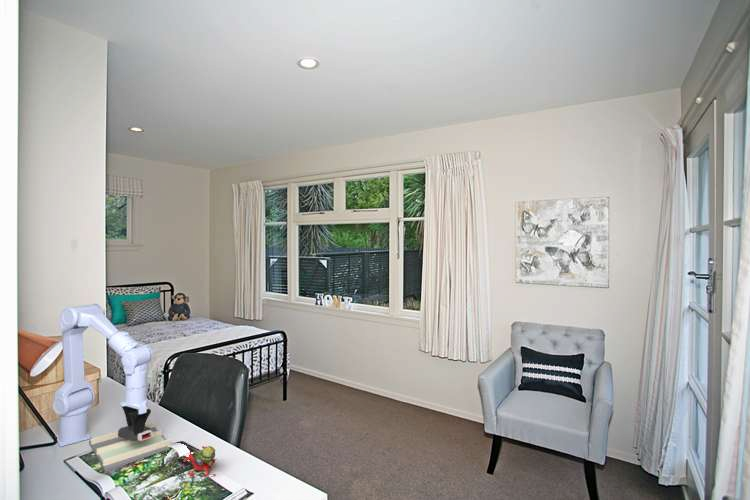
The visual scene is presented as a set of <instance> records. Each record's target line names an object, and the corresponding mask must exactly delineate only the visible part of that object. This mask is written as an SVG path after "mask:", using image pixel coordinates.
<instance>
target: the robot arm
mask: <svg viewBox="0 0 750 500" xmlns="http://www.w3.org/2000/svg"><path fill="white" fill-rule="evenodd" d="M59 324H60V328H59V329H60V332H61V341H62V343H61V344H62V364H63V365H62V367H63V384H62V385H61V386H60V387H59V388H58V389H57V390H56V391H54V400H53V403H52V409H53V411H54V412H55V414H57V416H59V433H57V434H56V435H55V438H56V437H57V439H56V441H57V444H58V445H59V447H65V446H68V445H71V444H75V443H79V442H82V441H87V440H91V439H92V437H91V435H90V433H89V431H88V420H89V419H88V415H89V413H88V412H89V409H90V408H91V405H92V404H93V403H94V402H95V399H96V396H95V395H96V394H95V392H94V389H93V384H92V383H91V382H90V381H87V380H86V379H85V360H84V341H83V340H84V336H83V334H84V332H85V331H86V330H87V329H88V328H89V327H91V328H93V329H95V330H96V331H97V332H99V333H100V334H101V335H102V336H104V337H105V338H106V339H107V340H108V342H107V344H108V346H109V347H110V348H111V350H113V351H114V352H116V353H117V355H119V356H120V362H121V364H122V366H123V372H124V373H125V387H124V389H125V391H124V394H125V395H124V401H121V402H120V407H121V409H122V410H123V413H124V416H125V420H126V424H127V425H126V426H128V427H130V426H133V431H134V434H135V435H138V434H139V433H143V431H144V427H145V424H147V420H148V418H149V417H150V415H151V412H152V410H151V409H150V408H147V404H148V396H147V395H148V394H147V393H148V363H149V362H150V361H152V359H153V351H152V349H151V348H150V346H149V345H147V344H142V343H138V341H137V340H135V339H134V338H133V337H132V336H131V335H130V333H128V331H123V330H121V331H119V329H117V327H116V326H115V325H114V324H113V323H112V322H111V320H109V318H108V317H106V312H105V309H104V308H103V307H102V306H101V305H100V304H99V303H91V304H86V305H85V304H84V305H78V306H68V307H65V308H64V309H63V310H62V311H61V313H59Z"/></svg>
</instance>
